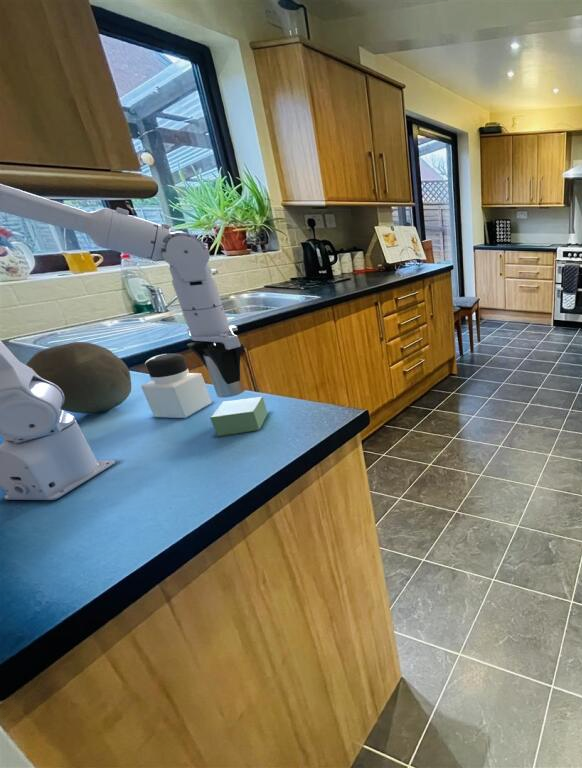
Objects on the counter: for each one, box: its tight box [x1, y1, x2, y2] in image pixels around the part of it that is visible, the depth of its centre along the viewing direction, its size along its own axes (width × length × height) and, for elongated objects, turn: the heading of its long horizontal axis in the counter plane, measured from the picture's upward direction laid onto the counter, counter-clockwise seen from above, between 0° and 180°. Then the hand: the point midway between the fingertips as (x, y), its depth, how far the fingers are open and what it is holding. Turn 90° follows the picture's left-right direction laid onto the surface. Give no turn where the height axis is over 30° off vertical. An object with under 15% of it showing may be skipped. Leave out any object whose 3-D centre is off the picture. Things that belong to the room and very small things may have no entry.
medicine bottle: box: [140, 352, 212, 419], centre depth 82 cm, size 7×7×12 cm
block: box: [210, 396, 269, 437], centre depth 77 cm, size 7×7×4 cm
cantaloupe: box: [25, 341, 132, 414], centre depth 81 cm, size 14×14×15 cm
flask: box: [203, 343, 246, 399], centre depth 73 cm, size 4×4×10 cm
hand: (226, 379), depth 74 cm, fingers closed on flask, 4 cm apart
